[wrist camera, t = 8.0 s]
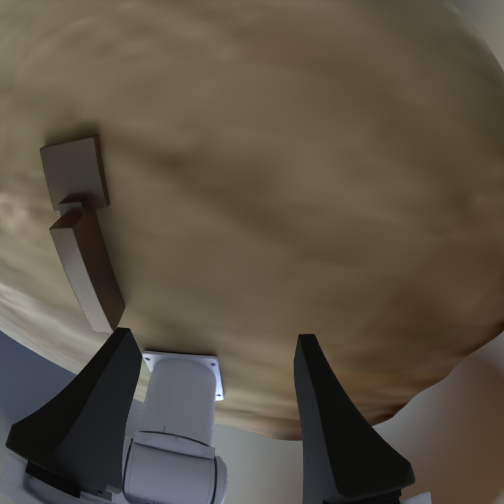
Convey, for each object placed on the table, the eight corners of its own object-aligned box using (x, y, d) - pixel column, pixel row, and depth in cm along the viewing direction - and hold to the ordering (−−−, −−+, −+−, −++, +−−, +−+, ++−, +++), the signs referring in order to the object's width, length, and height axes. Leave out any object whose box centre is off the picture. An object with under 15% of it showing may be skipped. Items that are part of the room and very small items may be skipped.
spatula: (139, 308, 23) (129, 336, 21) (93, 304, 23) (80, 329, 21) (98, 134, 15) (71, 147, 12) (44, 146, 15) (16, 161, 12)
